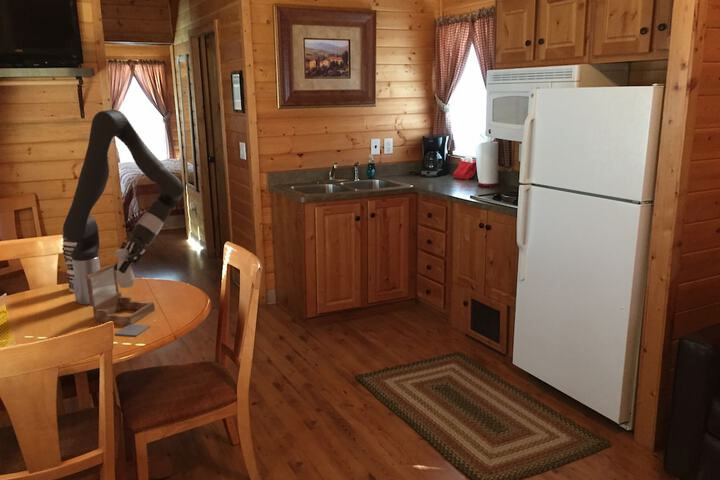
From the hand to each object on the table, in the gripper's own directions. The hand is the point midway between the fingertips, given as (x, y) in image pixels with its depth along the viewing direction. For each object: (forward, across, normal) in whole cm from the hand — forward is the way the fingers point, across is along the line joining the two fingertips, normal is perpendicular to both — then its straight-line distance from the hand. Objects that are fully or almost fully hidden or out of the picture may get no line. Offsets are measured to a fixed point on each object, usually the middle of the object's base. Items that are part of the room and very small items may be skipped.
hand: (118, 270), depth 205 cm
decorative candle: (+9, -51, +18) cm, 54 cm away
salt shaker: (+3, 0, +6) cm, 6 cm away
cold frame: (+11, -7, +16) cm, 20 cm away
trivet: (+15, +8, +12) cm, 21 cm away
